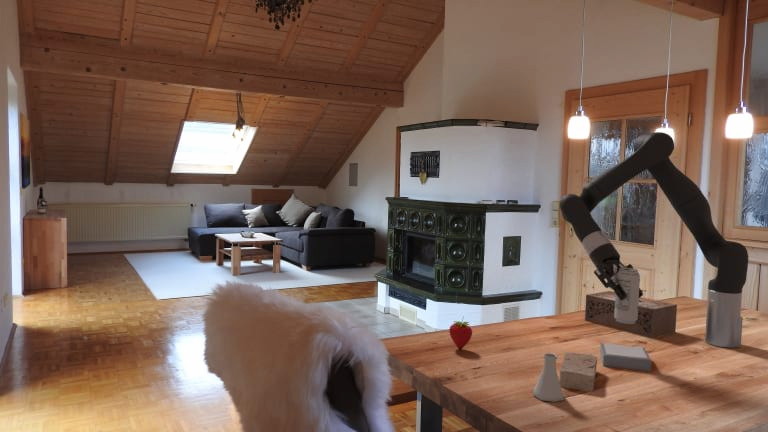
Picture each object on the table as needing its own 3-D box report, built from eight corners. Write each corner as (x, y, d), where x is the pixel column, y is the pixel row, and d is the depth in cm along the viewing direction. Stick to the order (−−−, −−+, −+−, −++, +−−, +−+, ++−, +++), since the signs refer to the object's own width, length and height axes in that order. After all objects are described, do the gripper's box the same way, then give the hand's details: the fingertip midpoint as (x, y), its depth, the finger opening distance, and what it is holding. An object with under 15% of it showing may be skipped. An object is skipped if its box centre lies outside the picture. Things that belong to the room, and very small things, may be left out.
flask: (528, 390, 130) (529, 350, 129) (557, 390, 131) (558, 350, 130) (539, 403, 123) (541, 360, 122) (569, 402, 123) (571, 360, 123)
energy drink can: (642, 323, 150) (645, 270, 149) (623, 324, 149) (626, 271, 148) (627, 318, 156) (630, 267, 155) (609, 319, 154) (612, 267, 153)
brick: (594, 393, 130) (594, 374, 130) (557, 387, 133) (558, 369, 133) (596, 372, 145) (597, 355, 145) (564, 367, 148) (564, 350, 148)
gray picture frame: (644, 357, 157) (644, 347, 156) (650, 371, 145) (651, 359, 145) (600, 352, 160) (600, 342, 160) (603, 365, 149) (603, 354, 149)
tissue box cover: (584, 321, 199) (586, 294, 198) (608, 316, 207) (609, 290, 206) (652, 339, 177) (653, 309, 176) (675, 333, 185) (677, 304, 184)
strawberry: (457, 344, 166) (458, 312, 166) (476, 350, 160) (477, 317, 160) (444, 347, 162) (445, 315, 162) (463, 354, 157) (464, 320, 156)
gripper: (590, 243, 154) (623, 292, 144) (625, 241, 161) (658, 288, 151) (575, 258, 159) (606, 307, 149) (609, 256, 166) (640, 302, 156)
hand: (632, 297), depth 150 cm, fingers closed on energy drink can, 6 cm apart
